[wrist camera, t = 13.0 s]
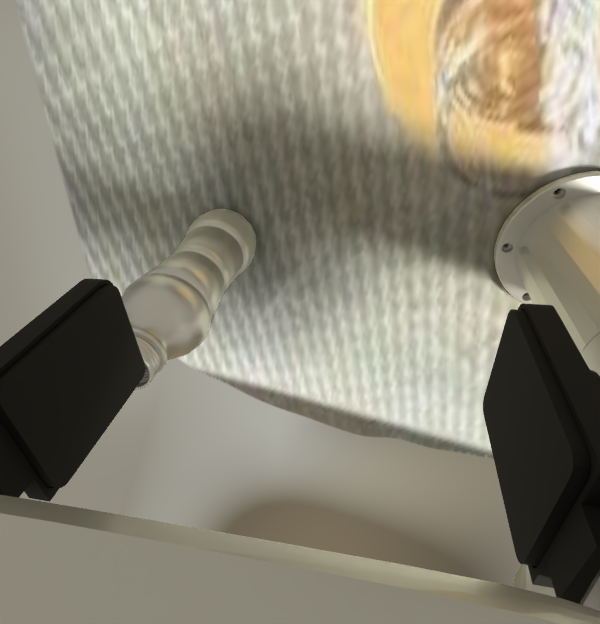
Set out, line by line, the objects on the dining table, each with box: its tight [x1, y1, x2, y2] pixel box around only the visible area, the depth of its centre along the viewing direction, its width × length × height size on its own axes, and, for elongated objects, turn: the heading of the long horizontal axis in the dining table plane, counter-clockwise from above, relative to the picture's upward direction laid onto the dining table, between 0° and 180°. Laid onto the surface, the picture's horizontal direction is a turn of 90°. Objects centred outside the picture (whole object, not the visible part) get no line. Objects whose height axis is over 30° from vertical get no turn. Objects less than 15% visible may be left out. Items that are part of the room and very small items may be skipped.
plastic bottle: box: [121, 209, 257, 389], centre depth 33 cm, size 6×7×20 cm
